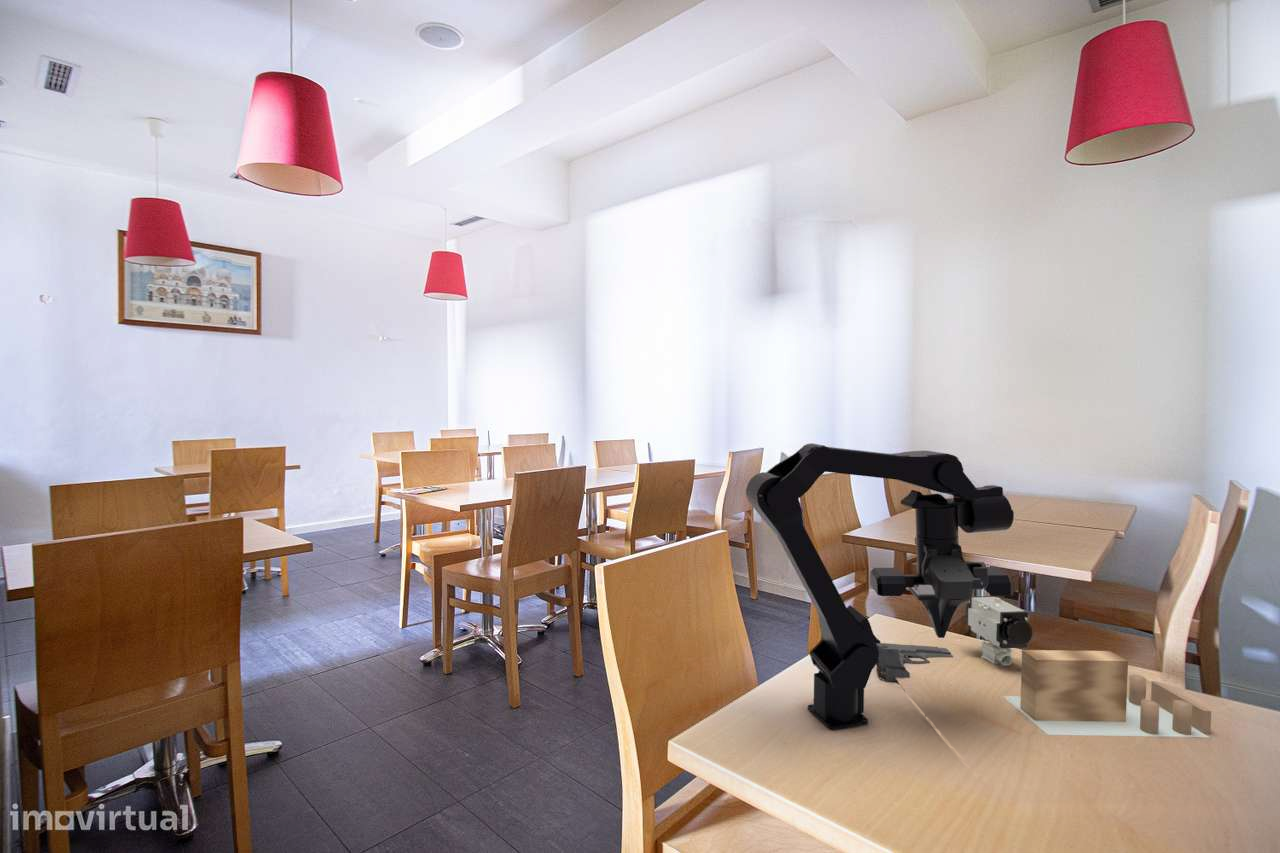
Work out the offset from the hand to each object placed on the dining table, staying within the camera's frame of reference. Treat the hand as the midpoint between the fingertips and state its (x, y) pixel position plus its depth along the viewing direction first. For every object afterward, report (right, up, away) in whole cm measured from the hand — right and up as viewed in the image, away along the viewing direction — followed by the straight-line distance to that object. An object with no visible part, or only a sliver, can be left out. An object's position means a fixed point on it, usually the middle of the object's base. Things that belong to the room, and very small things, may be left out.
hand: (940, 637), depth 92 cm
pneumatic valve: (+18, -11, +18) cm, 28 cm away
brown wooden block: (+19, -11, -2) cm, 22 cm away
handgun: (+3, -12, +16) cm, 20 cm away
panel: (+23, -12, -2) cm, 26 cm away
